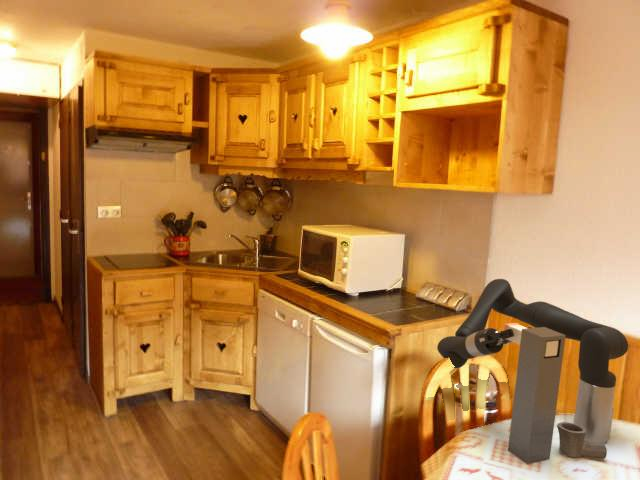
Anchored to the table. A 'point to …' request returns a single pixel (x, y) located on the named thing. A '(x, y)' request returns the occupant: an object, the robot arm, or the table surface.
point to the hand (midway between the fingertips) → (522, 331)
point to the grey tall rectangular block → (535, 395)
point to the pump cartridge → (517, 330)
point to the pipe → (578, 442)
